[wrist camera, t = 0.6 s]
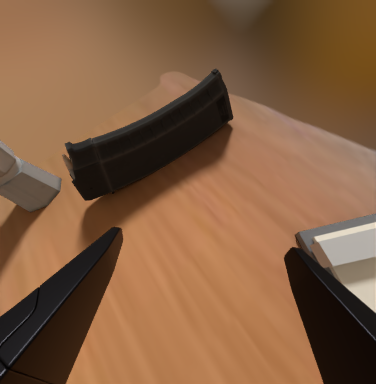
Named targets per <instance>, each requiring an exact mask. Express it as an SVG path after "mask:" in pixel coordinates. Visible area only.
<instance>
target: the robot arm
mask: <svg viewBox="0 0 376 384" xmlns="http://www.w3.org/2000/svg"><path fill="white" fill-rule="evenodd" d="M122 243H123V234H122V229H121V228H118V227H112V228H111V229H110V230H108V231H107V232H106V233H105V234H103V235H102V236H101V237H100V238H99V239H97V240H96V241H95V242H94V243H92V244H91V245H90V246H89V247H87V248H86V249H85V250H84V251H82V252H81V253H80V254H79V255H77V256H76V257H75V258H74V259H73V260H71V261H70V262H69V263H68V264H66V265H65V266H64V267H63V268H61V269H60V270H59V271H58V272H56V273H55V274H54V275H53V276H52V277H50V278H49V279H48V280H47V281H45V282H44V283H43V284H42V285H40V288H39V287H38V288H37V289H35V290H34V291H33V292H32V293H30V294H29V295H28V296H27V297H25V298H24V299H23V300H22V301H20V302H19V303H18V304H16V305H15V306H14V307H13V308H11V309H10V310H9V311H7V312H6V313H5V314H3V315H2V316H0V384H66V382H67V379H68V377H69V375H70V372H71V370H72V368H73V365H74V363H75V361H76V358H77V356H78V354H79V351H80V349H81V347H82V344H83V342H84V340H85V337H86V335H87V333H88V330H89V328H90V326H91V323H92V321H93V319H94V316H95V314H96V312H97V309H98V307H99V305H100V302H101V300H102V298H103V295H104V293H105V291H106V288H107V286H108V284H109V281H110V279H111V277H112V274H113V272H114V269H115V266H116V262H117V259H118V256H119V253H120V249H121V246H122ZM284 261H285V265H286V269H287V273H288V278H289V282H290V286H291V289H292V293H293V296H294V299H295V301H296V304H297V307H298V310H299V313H300V316H301V319H302V322H303V325H304V328H305V331H306V333H307V336H308V339H309V342H310V345H311V348H312V351H313V354H314V357H315V360H316V363H317V365H318V368H319V371H320V374H321V377H322V380H323V383H324V384H376V313H375V312H374V311H373V310H372V309H371V308H369V307H368V306H367V305H366V304H365V303H364V302H362V301H361V300H360V299H359V298H358V297H357V296H356V295H354V294H353V293H352V292H351V291H350V290H349V289H347V288H346V287H345V286H344V285H343V284H342V283H340V282H339V281H338V280H337V279H336V278H335V277H334V276H332V275H331V274H330V273H329V272H328V271H327V270H325V269H324V268H323V267H322V266H321V265H320V264H319V263H317V262H316V261H315V260H314V259H313V258H312V257H310V256H309V255H308V254H307V253H306V252H305V251H303V250H302V249H301V248H296V247H292V248H290V250H289V251H288V252H287V253H286V255H285V257H284Z"/></svg>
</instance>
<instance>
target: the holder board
mask: <svg viewBox="0 0 376 384" xmlns="http://www.w3.org/2000/svg"><path fill="white" fill-rule="evenodd" d="M374 222H376V214H372V215H368V216H364V217H359V218H355V219H351V220H347V221H343V222H339V223H334V224H330V225H326V226H322V227H318V228H314V229H310V230H305V231H301V232H298V233H297V234H295V236H296V237H297V239H298V241H299V243H300V245H301V247H302V248H303V250H304V251H305V252H306V253H307V254H308V255H309V256H310V257H312V258H313V259H314V260H315V261H316V262H317V263H319V264H320V265H321V266H322V267H323V268H324V269H325V270H327V271H328V272H329V273H330V274H331V275H332V276H334V275H333V273H332V272H331V270H330V268H329V267H332V266H337V265H341V264H345V263H350V262H354V261H358V260H363V259H367V258H372V257H376V228H374V229H369V230H365V231H361V232H357V233H353V234H348V235H344V236H340V237H336V238H331V239H327V240H323V241H319V242H316V243H314V241H313V240H312V238H313V237H315V236H320V235H324V234H328V233H332V232H336V231H341V230H345V229H349V228H353V227H357V226H362V225H366V224H370V223H374Z"/></svg>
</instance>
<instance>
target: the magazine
mask: <svg viewBox="0 0 376 384" xmlns="http://www.w3.org/2000/svg"><path fill="white" fill-rule="evenodd" d="M232 119H233V114H232V110H231V105H230V101H229V96H228V92H227V88H226V86H225V84H224V82H223V80H222V76H221V74H220V72H219V71H218V70H217V69H214V70H213V71H212V72H211V73H210V74H209V75H208V76H207V77H206V78H205V79H204V80H203V81H202V82H200V83H199V84H198V85H197V86H195V87H194V88H193V89H191V90H190V91H188V92H187V93H186V94H184V95H182V96H181V97H179V98H177V99H176V100H174V101H172V102H171V103H169V104H168V105H166V106H164V107H163V108H161V109H159V110H158V111H156V112H154V113H152V114H150V115H148V116H147V117H145V118H142V119H140V120H138V121H136V122H134V123H132V124H130V125H127V126H125V127H123V128H120V129H118V130H115V131H112V132H110V133H107V134H104V135H101V136H98V137H95V138H92V140H91V138H89V139H87V140H85V141H82V142H80V143H76V144H72V143H70V142H68V143H65V146H66V149H67V152H68V154H69V158H70V159H69V158H68V157H67V156H66V155H65V154H63V155H62V156H63V159H64V162H65V164H66V166H67V168H68V170H69V173H70V176H71V177H72V179H73V181H72V183H73V184H74V186H75V187H76V189H77V190H78V191H79V193H80V194H81V196H82V197H83V199H84V200H93V199H95V198H98V197H100V196H103V195H106V194H108V193H111V192H112V194H113V193H114V191H115V190H117V189H120V188H122V187H124V186H126V185H128V184H130V183H133V182H135V181H137V180H139V179H141V178H143V177H145V176H147V175H149V174H151V173H153V172H155V171H157V170H159V169H160V168H162V167H164V166H166V165H167V164H169V163H170V162H172V161H174V160H175V159H177V158H178V157H180V156H182V155H183V154H185V153H186V152H188V151H189V150H191V149H192V148H194V147H195V146H196V145H198V144H199V143H201V142H202V141H203V140H205V139H206V138H207V137H209V136H210V135H211V134H213V133H214V132H215V131H216V130H218V129H219V128H220V127H222V126H223V125H224V124H226V123H227V122H228V121H230V120H232Z"/></svg>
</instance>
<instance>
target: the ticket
mask: <svg viewBox="0 0 376 384" xmlns="http://www.w3.org/2000/svg"><path fill="white" fill-rule="evenodd" d="M374 228H376V222H374V223H370V224H366V225H362V226H357V227H353V228H349V229H345V230H341V231H336V232H332V233H328V234H324V235H320V236H315V237H313V238H312V240H313V241H314V243H316V242H319V241H323V240H327V239H331V238H336V237H340V236H344V235H348V234H353V233H357V232H361V231H365V230H369V229H374ZM329 268H330V270H331V272H332V273H333V275H334V277H335V278H336V279H337V280H338V281H339V282H340V283H342V284H343V285H344V286H345V287H346V288H347V289H349V290H350V291H351V292H352V293H353V294H354V295H356V296H357V297H358V298H359V299H360V300H361V301H362V302H364V303H365V304H366V305H367V306H368V307H369V308H371V309H372V310H373V311H374V312H375V313H376V257H372V258H367V259H363V260H358V261H354V262H350V263H345V264H341V265H337V266H332V267H329Z"/></svg>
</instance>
